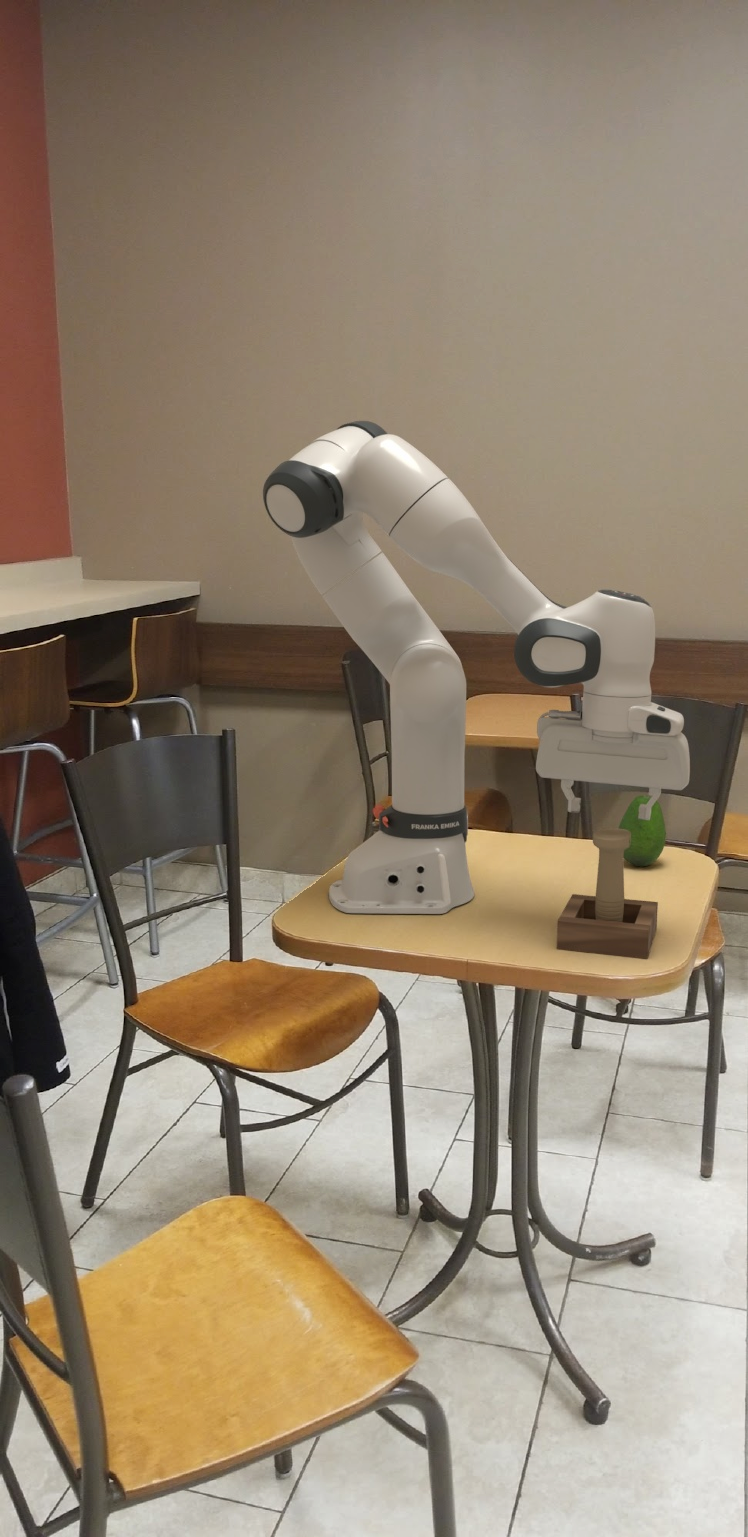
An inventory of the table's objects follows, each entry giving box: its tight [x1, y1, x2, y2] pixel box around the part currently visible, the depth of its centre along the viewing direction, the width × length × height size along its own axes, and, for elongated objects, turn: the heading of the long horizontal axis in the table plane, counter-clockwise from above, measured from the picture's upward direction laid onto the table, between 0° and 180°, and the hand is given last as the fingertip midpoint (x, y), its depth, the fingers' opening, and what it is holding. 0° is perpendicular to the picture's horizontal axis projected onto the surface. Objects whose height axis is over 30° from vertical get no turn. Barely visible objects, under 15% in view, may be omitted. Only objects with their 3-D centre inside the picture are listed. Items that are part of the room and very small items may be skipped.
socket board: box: [556, 893, 659, 960], centre depth 159 cm, size 12×12×4 cm
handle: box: [592, 827, 631, 922], centre depth 158 cm, size 5×6×15 cm
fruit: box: [618, 794, 667, 867], centre depth 192 cm, size 8×8×12 cm
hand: (608, 815), depth 156 cm, fingers open, 8 cm apart
